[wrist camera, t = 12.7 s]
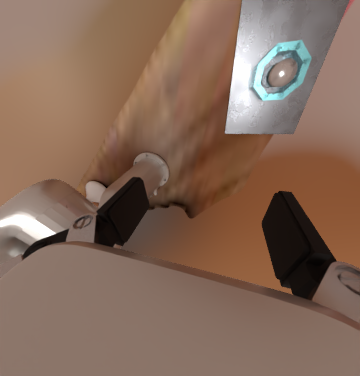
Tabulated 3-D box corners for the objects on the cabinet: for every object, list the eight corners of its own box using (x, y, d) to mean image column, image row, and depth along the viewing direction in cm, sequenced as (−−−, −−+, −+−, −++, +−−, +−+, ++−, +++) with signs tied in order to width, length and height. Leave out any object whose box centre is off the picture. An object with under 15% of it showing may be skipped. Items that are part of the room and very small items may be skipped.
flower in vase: (113, 186, 55) (53, 239, 36) (112, 203, 63) (62, 254, 43) (85, 172, 55) (9, 217, 36) (87, 191, 62) (25, 237, 43)
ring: (287, 97, 25) (296, 99, 22) (247, 100, 27) (250, 101, 24) (306, 44, 21) (320, 36, 18) (257, 51, 23) (262, 45, 20)
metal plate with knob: (291, 132, 29) (306, 142, 24) (224, 132, 33) (224, 141, 27) (356, -28, 17) (416, -80, 12) (242, -1, 21) (248, -33, 15)
